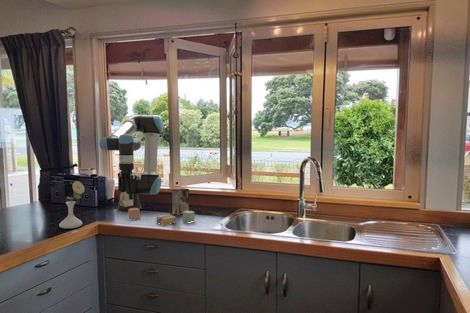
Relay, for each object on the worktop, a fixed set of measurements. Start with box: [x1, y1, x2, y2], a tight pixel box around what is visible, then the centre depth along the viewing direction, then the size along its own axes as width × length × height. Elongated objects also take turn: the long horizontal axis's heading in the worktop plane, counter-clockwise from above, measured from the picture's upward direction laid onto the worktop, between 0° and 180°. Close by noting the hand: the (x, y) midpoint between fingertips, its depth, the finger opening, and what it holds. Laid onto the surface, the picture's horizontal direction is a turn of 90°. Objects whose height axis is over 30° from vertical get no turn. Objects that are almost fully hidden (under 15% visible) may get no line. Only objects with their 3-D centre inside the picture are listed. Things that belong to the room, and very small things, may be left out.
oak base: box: [155, 213, 177, 226], centre depth 187 cm, size 8×8×4 cm
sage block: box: [182, 210, 195, 222], centre depth 190 cm, size 5×5×6 cm
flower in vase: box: [58, 180, 86, 230], centre depth 174 cm, size 13×11×25 cm
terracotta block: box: [127, 208, 141, 221], centre depth 195 cm, size 5×5×6 cm
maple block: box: [119, 194, 133, 207], centre depth 179 cm, size 5×5×6 cm
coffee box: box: [171, 187, 190, 216], centre depth 209 cm, size 9×6×16 cm
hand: (126, 204), depth 179 cm, fingers closed on maple block, 5 cm apart
